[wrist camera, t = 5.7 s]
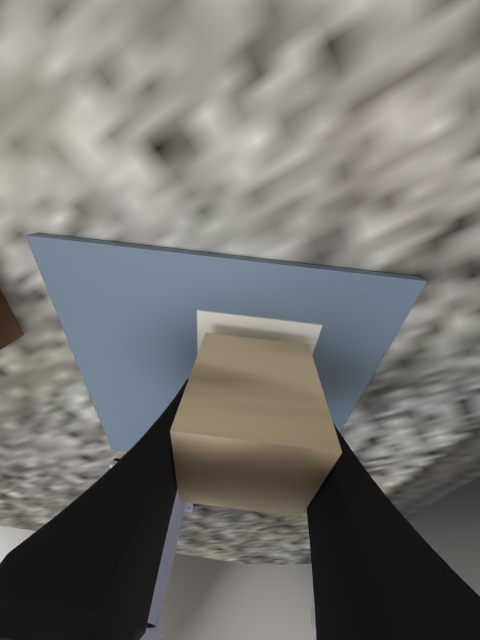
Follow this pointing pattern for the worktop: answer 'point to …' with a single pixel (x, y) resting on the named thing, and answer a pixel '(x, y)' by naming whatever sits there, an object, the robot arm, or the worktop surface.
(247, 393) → the maple block
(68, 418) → the worktop surface
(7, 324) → the walnut block
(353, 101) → the worktop surface
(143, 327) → the board
